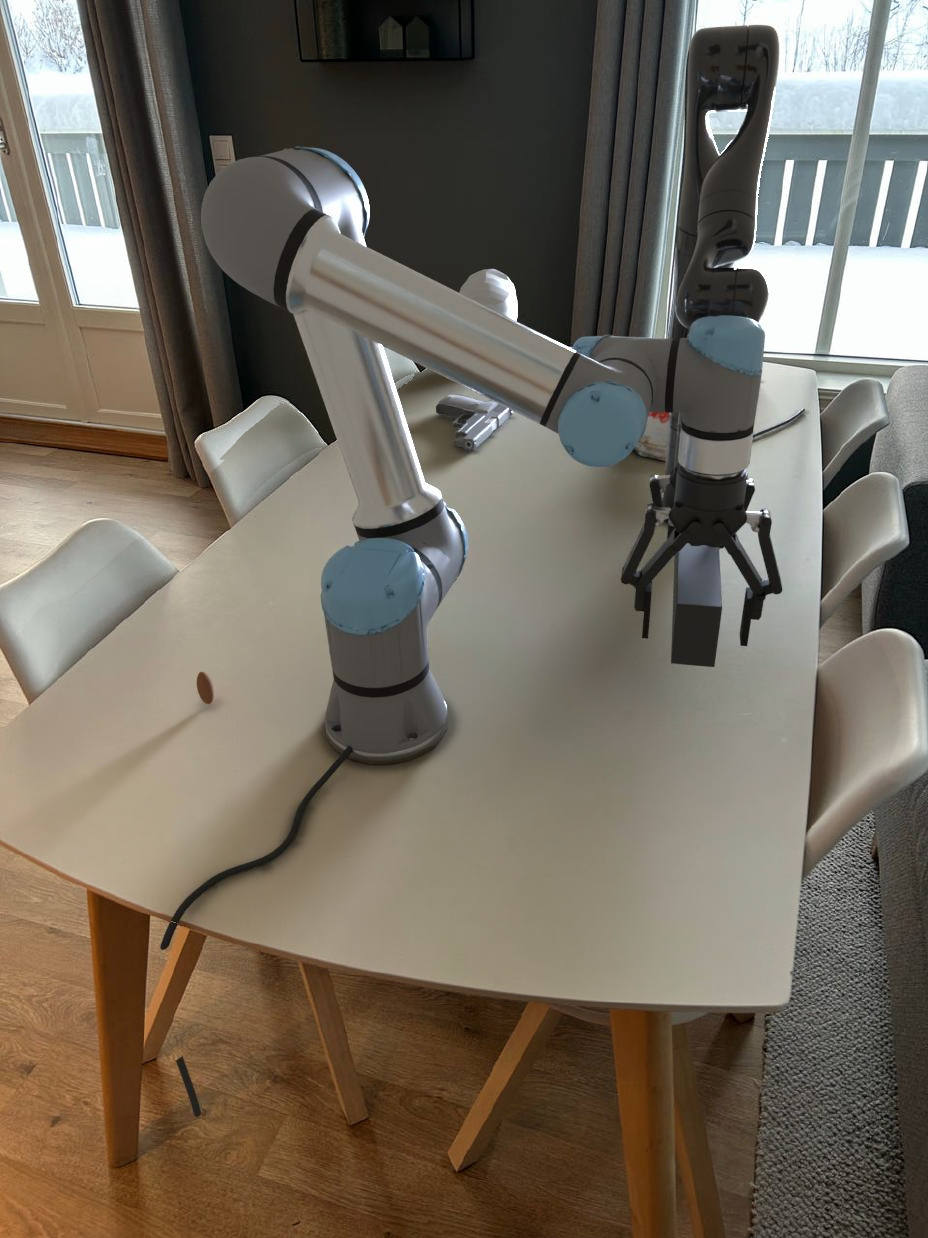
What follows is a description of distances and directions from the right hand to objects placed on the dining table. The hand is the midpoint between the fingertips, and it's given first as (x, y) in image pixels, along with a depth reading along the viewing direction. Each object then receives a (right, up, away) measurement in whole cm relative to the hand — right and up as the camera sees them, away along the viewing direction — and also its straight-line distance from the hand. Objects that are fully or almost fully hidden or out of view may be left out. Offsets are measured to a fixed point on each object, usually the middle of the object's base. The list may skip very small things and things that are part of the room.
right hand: (694, 548), depth 125 cm
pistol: (-32, +33, +79) cm, 91 cm away
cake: (+14, +28, +67) cm, 74 cm away
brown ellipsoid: (-66, -21, -6) cm, 69 cm away
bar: (-2, -8, -6) cm, 11 cm away
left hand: (-4, -12, -15) cm, 20 cm away
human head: (-25, +59, +120) cm, 136 cm away
